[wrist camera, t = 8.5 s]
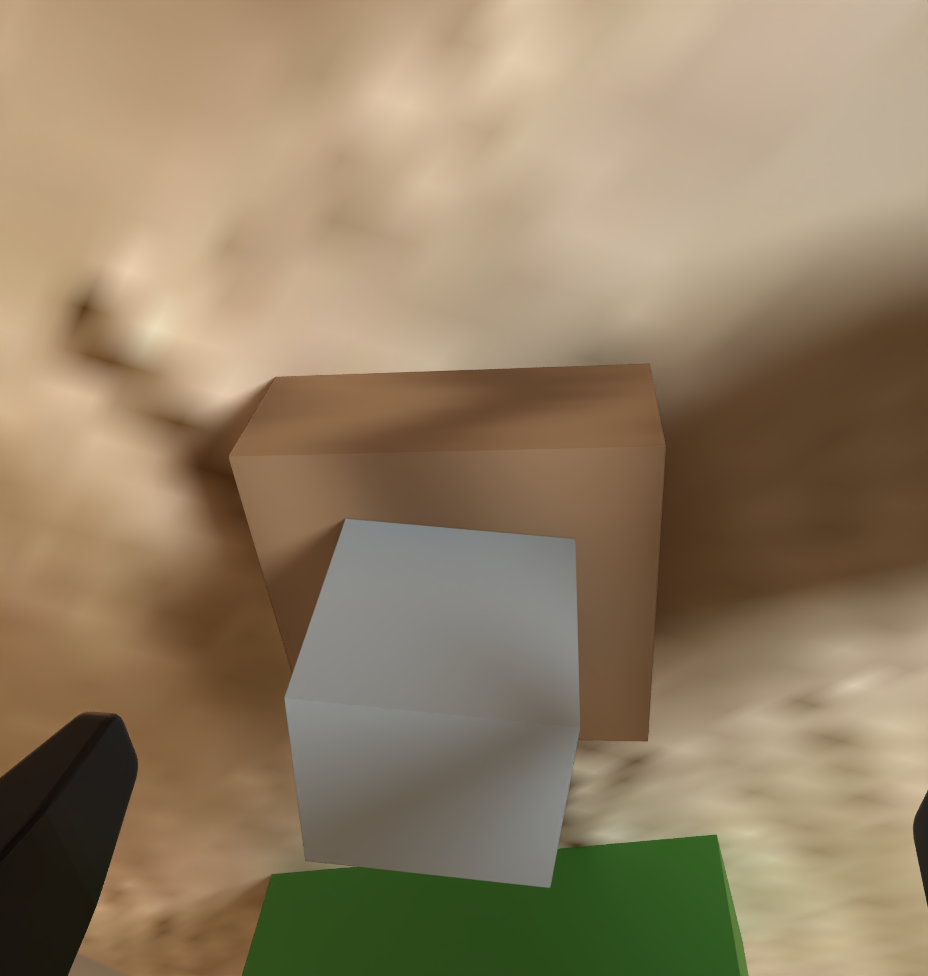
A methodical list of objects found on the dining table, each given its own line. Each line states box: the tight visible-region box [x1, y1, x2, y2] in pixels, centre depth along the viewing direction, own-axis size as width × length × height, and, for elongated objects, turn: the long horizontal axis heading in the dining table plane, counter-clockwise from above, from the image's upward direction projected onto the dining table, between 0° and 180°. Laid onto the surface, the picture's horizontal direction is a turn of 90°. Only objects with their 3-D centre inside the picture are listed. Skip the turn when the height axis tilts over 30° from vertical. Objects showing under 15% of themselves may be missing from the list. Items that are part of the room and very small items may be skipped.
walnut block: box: [228, 364, 666, 741], centre depth 21 cm, size 9×9×4 cm
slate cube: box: [284, 519, 580, 888], centre depth 17 cm, size 5×5×5 cm
